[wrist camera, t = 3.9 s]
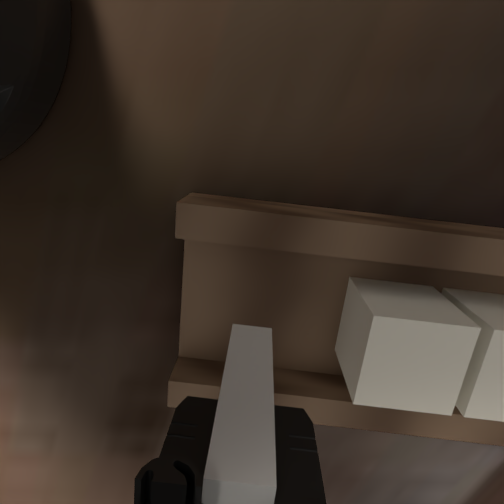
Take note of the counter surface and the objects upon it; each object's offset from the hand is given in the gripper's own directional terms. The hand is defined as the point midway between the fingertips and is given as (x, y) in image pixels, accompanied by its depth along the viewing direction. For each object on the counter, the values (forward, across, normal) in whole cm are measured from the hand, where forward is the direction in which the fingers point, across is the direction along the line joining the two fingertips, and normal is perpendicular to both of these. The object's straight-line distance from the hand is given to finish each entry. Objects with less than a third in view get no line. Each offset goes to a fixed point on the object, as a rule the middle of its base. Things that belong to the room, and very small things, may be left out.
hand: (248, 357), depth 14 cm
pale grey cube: (+4, +6, 0) cm, 8 cm away
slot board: (+5, +6, 0) cm, 8 cm away
